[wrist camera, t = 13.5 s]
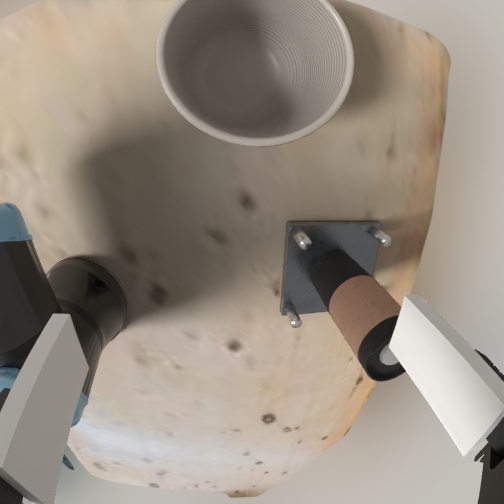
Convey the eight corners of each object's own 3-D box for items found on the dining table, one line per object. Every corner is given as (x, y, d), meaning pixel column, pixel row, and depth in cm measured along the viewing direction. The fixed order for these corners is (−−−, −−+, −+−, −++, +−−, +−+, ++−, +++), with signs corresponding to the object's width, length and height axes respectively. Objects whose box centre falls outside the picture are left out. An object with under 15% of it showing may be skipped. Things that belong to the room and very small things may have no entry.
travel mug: (362, 268, 47) (435, 345, 29) (328, 301, 48) (385, 390, 30) (335, 238, 44) (411, 315, 26) (298, 274, 46) (352, 368, 27)
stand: (279, 310, 49) (288, 330, 45) (286, 221, 43) (297, 235, 38) (361, 302, 52) (375, 320, 47) (377, 221, 46) (395, 233, 41)
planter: (270, 3, 30) (304, -47, 17) (323, 108, 38) (382, 106, 24) (152, 52, 31) (124, 15, 18) (209, 160, 39) (212, 181, 25)
